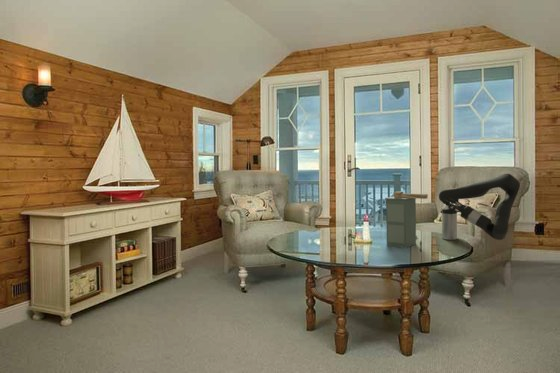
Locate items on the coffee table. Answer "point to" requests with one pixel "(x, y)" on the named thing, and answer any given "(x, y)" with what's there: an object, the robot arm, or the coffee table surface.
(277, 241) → the coffee table surface
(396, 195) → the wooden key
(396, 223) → the cabinet
